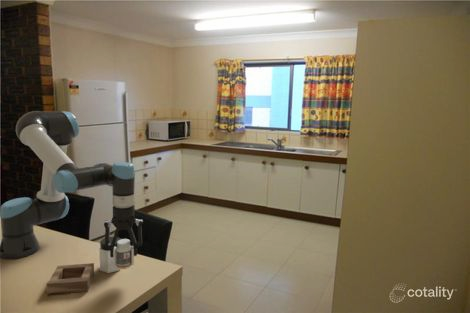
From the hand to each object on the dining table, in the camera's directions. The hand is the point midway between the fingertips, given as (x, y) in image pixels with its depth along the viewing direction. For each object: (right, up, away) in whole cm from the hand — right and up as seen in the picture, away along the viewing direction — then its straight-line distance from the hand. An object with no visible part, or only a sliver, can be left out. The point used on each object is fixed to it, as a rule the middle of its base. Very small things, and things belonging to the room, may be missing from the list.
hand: (123, 263), depth 122 cm
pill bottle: (0, -1, 0) cm, 1 cm away
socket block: (-19, -7, -1) cm, 20 cm away
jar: (-9, -6, +12) cm, 17 cm away
